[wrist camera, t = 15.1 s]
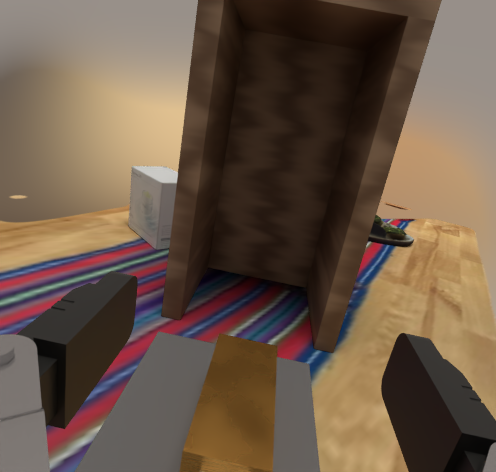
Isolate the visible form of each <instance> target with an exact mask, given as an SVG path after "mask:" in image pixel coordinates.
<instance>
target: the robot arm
mask: <svg viewBox="0 0 496 472" xmlns="http://www.w3.org/2000/svg"><path fill="white" fill-rule="evenodd" d="M137 284H138V282H137V277H136V276H132V275H127V274H123V273H118V272H113V271H111V272H109V273H108V274H107V275H106V276H104V277H103V278H102V279H101V280H100V281H99V282H97V283H96V284H91V283H89V284H86V285H84V286H81V287H78V288H76V289H73V290H72V291H71V292H69V293H68V294H67V295H65V296H64V297H63V298H62V299H61V301H58V302H57V303H55V304H54V305H53V306H52V307H51V309H48V310H47V311H45V312H44V313H43V314H42V315H40V316H39V317H38V318H36V319H35V320H34V321H33V322H31V323H30V324H29V325H28V326H26V327H25V328H24V329H23V330H21V331H20V332H19V333H18V334H16V335H12V334H10V335H0V472H50V468H49V457H48V446H47V435H46V426H47V425H50V426H54V427H59V428H63V429H65V428H66V426H67V425H68V424H69V422H70V421H71V419H72V418H73V417H74V415H75V414H76V412H77V411H78V410H79V408H80V407H81V405H82V404H83V403H84V401H85V400H86V398H87V397H88V396H89V394H90V393H91V391H92V390H93V389H94V387H95V386H96V384H97V383H98V382H99V380H100V379H101V378H102V376H103V375H104V373H105V372H106V371H107V369H108V368H109V366H110V365H111V364H112V362H113V361H114V359H115V358H116V357H117V355H118V354H119V352H120V351H121V350H122V348H123V347H124V345H125V344H126V343H127V341H128V339H129V337H130V335H131V332H132V329H133V325H134V318H135V307H136V296H137ZM381 390H382V397H383V400H384V403H385V406H386V409H387V412H388V414H389V417H390V420H391V423H392V426H393V428H394V431H395V434H396V437H397V440H398V443H399V445H400V448H401V451H402V454H403V457H404V459H405V462H406V465H407V468H408V471H409V472H496V420H495V419H494V418H493V416H492V415H491V413H490V412H489V410H488V409H487V408H486V406H485V405H484V403H481V399H480V398H479V396H478V395H477V393H476V392H475V391H473V390H472V386H471V385H470V384H469V382H468V381H467V379H466V378H465V376H464V375H463V374H462V373H461V372H460V371H459V370H458V369H457V368H456V367H454V366H453V365H452V364H451V363H450V362H449V361H447V360H446V359H443V358H442V356H441V355H440V353H439V352H438V350H437V349H436V347H435V346H434V344H433V343H432V341H431V340H430V339H428V338H424V337H419V336H415V335H410V334H405V333H401V334H400V335H399V336H398V337H397V340H396V342H395V345H394V347H393V350H392V353H391V356H390V358H389V361H388V364H387V366H386V369H385V372H384V375H383V378H382V386H381Z"/></svg>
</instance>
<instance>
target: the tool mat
mask: <svg viewBox="0 0 496 472" xmlns="http://www.w3.org/2000/svg"><path fill="white" fill-rule="evenodd" d="M215 346H216V344H214V343H209V342H205V341H200V340H195V339H191V338H186V337H181V336H177V335H172V334H167V333H163V332H158V334H157V335H156V337H155V339H154V340H153V342H152V344H151V345H150V347H149V349H148V350H147V352H146V354H145V355H144V357H143V359H142V360H141V362H140V364H139V365H138V367H137V369H136V370H135V372H134V374H133V375H132V377H131V379H130V380H129V382H128V384H127V385H126V387H125V389H124V390H123V392H122V394H121V395H120V397H119V399H118V400H117V402H116V404H115V405H114V407H113V409H112V410H111V412H110V414H109V415H108V417H107V419H106V420H105V422H104V424H103V425H102V427H101V429H100V430H99V432H98V434H97V435H96V437H95V439H94V440H93V442H92V444H91V445H90V447H89V449H88V450H87V452H86V454H85V455H84V457H83V459H82V460H81V462H80V464H79V465H78V467H77V469H76V470H75V472H179V471H180V465H181V459H182V452H183V448H184V445H185V442H186V439H187V436H188V433H189V429H190V426H191V423H192V420H193V417H194V413H195V410H196V407H197V404H198V401H199V397H200V394H201V391H202V388H203V385H204V382H205V378H206V375H207V372H208V369H209V366H210V362H211V359H212V356H213V353H214V350H215ZM273 472H320V467H319V457H318V448H317V438H316V428H315V418H314V408H313V398H312V388H311V378H310V368H309V364H307V363H302V362H297V361H293V360H288V359H283V358H279V357H277V371H276V397H275V423H274V450H273Z"/></svg>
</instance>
